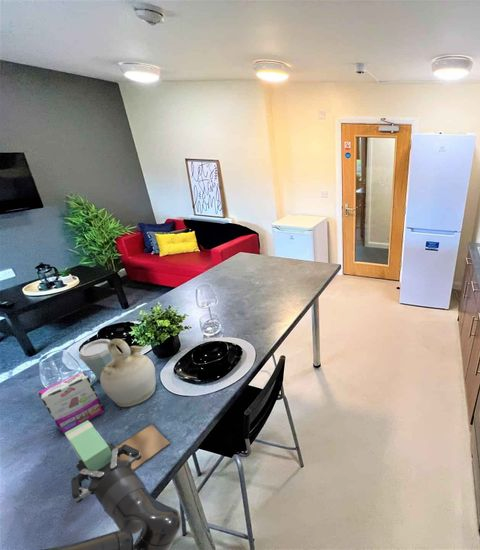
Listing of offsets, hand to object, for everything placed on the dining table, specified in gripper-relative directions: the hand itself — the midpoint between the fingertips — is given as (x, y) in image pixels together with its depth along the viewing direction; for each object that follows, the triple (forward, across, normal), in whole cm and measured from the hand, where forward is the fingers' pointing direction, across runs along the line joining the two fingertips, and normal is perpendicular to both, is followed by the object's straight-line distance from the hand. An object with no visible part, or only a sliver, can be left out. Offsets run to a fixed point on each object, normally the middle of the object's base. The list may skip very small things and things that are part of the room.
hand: (94, 454), depth 78 cm
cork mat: (+2, -9, +10) cm, 14 cm away
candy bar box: (+29, -3, +11) cm, 31 cm away
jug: (+27, -18, +11) cm, 34 cm away
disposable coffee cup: (+46, -16, +11) cm, 50 cm away
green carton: (+2, 0, +6) cm, 6 cm away
